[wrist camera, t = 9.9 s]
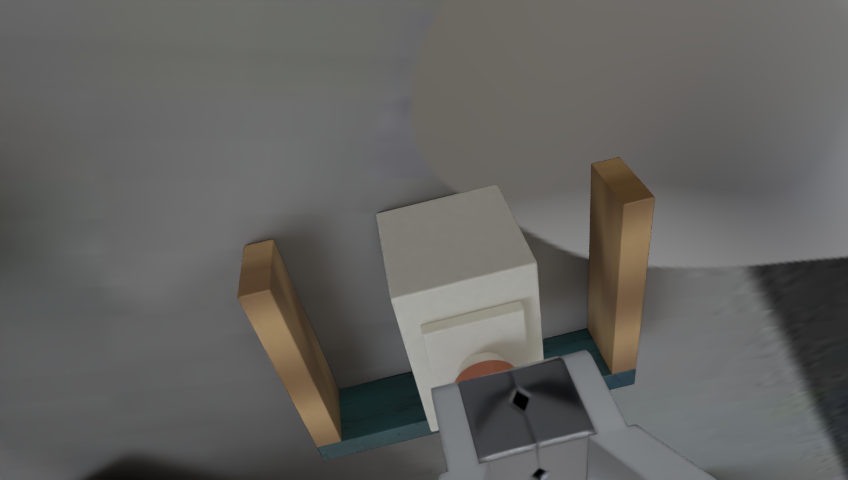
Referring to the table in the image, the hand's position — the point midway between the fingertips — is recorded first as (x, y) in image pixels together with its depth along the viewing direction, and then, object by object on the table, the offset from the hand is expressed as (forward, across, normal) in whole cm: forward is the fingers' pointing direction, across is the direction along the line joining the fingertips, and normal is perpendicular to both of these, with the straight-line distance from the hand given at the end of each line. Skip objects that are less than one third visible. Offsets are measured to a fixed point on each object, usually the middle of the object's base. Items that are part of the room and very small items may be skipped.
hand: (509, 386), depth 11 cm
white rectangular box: (+12, 0, +8) cm, 14 cm away
